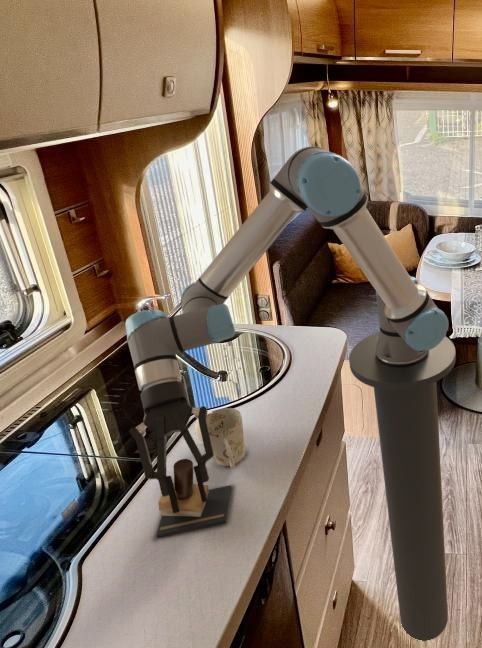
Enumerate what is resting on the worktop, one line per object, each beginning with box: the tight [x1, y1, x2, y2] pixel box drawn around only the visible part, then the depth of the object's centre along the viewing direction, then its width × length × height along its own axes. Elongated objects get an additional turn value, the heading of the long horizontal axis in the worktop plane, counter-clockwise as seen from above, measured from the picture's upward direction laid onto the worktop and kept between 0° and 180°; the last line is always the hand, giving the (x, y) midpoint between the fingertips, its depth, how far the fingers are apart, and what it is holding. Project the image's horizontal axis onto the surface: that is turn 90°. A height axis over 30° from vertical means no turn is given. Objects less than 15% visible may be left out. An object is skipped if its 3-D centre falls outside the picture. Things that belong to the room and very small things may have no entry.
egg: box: [194, 410, 214, 443], centre depth 112 cm, size 6×6×8 cm
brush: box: [158, 458, 210, 517], centre depth 93 cm, size 7×5×10 cm, turn 97°
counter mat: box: [155, 484, 232, 538], centre depth 96 cm, size 12×9×1 cm
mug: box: [199, 407, 246, 469], centre depth 105 cm, size 8×13×10 cm, turn 33°
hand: (190, 506), depth 91 cm, fingers open, 4 cm apart
